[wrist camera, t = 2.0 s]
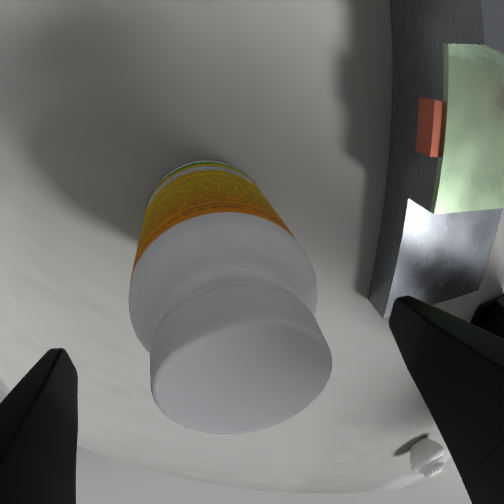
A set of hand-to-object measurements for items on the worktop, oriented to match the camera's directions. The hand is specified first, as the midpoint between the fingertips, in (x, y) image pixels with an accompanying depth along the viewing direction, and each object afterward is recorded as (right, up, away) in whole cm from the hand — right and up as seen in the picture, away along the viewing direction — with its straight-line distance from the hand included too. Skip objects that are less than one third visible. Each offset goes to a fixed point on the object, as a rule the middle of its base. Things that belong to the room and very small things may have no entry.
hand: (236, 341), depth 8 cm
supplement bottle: (-2, +4, +7) cm, 8 cm away
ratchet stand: (+12, +10, +7) cm, 17 cm away
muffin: (+27, -28, +32) cm, 50 cm away
